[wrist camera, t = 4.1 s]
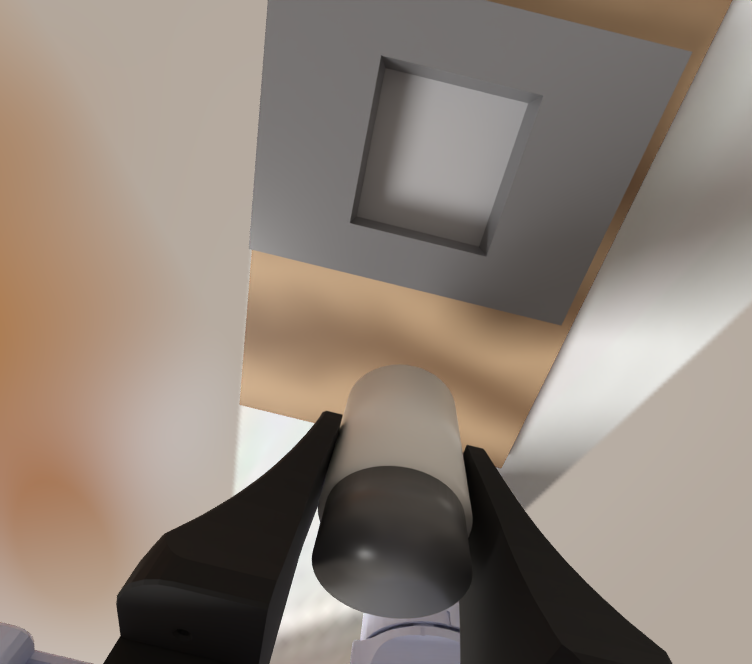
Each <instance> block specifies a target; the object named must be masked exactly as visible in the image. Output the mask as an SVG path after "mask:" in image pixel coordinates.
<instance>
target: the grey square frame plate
mask: <svg viewBox="0 0 752 664" xmlns="http://www.w3.org/2000/svg"><path fill="white" fill-rule="evenodd" d="M691 54H692V52H691V51H687V50H683V49H679V48H675V47H671V46H667V45H663V44H659V43H655V42H651V41H647V40H643V39H639V38H635V37H631V36H627V35H623V34H619V33H615V32H611V31H607V30H603V29H599V28H595V27H591V26H587V25H583V24H579V23H575V22H571V21H567V20H563V19H559V18H555V17H551V16H547V15H543V14H539V13H535V12H531V11H527V10H523V9H519V8H515V7H511V6H507V5H503V4H499V3H495V2H491V1H487V0H268V6H267V19H266V32H265V45H264V59H263V72H262V84H261V98H260V111H259V124H258V137H257V150H256V163H255V176H254V189H253V202H252V215H251V228H250V241H249V249H251V250H255V251H259V252H263V253H267V254H272V255H276V256H280V257H284V258H288V259H292V260H296V261H300V262H304V263H308V264H312V265H316V266H320V267H325V268H329V269H333V270H337V271H341V272H345V273H349V274H353V275H357V276H361V277H365V278H369V279H373V280H377V281H382V282H386V283H390V284H394V285H398V286H402V287H406V288H410V289H414V290H418V291H422V292H426V293H430V294H435V295H439V296H443V297H447V298H451V299H455V300H459V301H463V302H467V303H471V304H475V305H479V306H483V307H488V308H492V309H496V310H500V311H504V312H508V313H512V314H516V315H520V316H524V317H528V318H532V319H536V320H541V321H545V322H549V323H553V324H557V325H562V323H563V321H564V319H565V317H566V315H567V313H568V310H569V308H570V306H571V304H572V302H573V300H574V298H575V296H576V294H577V292H578V290H579V288H580V285H581V283H582V281H583V279H584V277H585V275H586V273H587V271H588V269H589V267H590V265H591V263H592V260H593V258H594V256H595V254H596V252H597V250H598V248H599V246H600V244H601V242H602V240H603V238H604V235H605V233H606V231H607V229H608V227H609V225H610V223H611V221H612V219H613V217H614V215H615V213H616V211H617V208H618V206H619V204H620V202H621V200H622V198H623V196H624V194H625V192H626V190H627V188H628V186H629V183H630V181H631V179H632V177H633V175H634V173H635V171H636V169H637V167H638V165H639V163H640V161H641V158H642V156H643V154H644V152H645V150H646V148H647V146H648V144H649V142H650V140H651V138H652V136H653V133H654V131H655V129H656V127H657V125H658V123H659V121H660V119H661V117H662V115H663V113H664V111H665V108H666V106H667V104H668V102H669V100H670V98H671V96H672V94H673V92H674V90H675V88H676V86H677V84H678V81H679V79H680V77H681V75H682V73H683V71H684V69H685V67H686V65H687V63H688V61H689V59H690V56H691Z"/></svg>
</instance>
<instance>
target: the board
mask: <svg viewBox="0 0 752 664" xmlns="http://www.w3.org/2000/svg"><path fill="white" fill-rule="evenodd" d="M487 1H491V2H495V3H499V4H503V5H507V6H511V7H515V8H519V9H523V10H527V11H531V12H535V13H539V14H543V15H547V16H551V17H555V18H559V19H563V20H567V21H571V22H575V23H579V24H583V25H587V26H591V27H595V28H599V29H603V30H607V31H611V32H615V33H619V34H623V35H627V36H631V37H635V38H639V39H643V40H647V41H651V42H655V43H659V44H663V45H667V46H671V47H675V48H679V49H683V50H687V51H691V52H692V54H691V56H690V59H689V61H688V63H687V65H686V67H685V69H684V71H683V73H682V75H681V77H680V79H679V81H678V84H677V86H676V88H675V90H674V92H673V94H672V96H671V98H670V100H669V102H668V104H667V106H666V108H665V111H664V113H663V115H662V117H661V119H660V121H659V123H658V125H657V127H656V129H655V131H654V133H653V136H652V138H651V140H650V142H649V144H648V146H647V148H646V150H645V152H644V154H643V156H642V158H641V161H640V163H639V165H638V167H637V169H636V171H635V173H634V175H633V177H632V179H631V181H630V183H629V186H628V188H627V190H626V192H625V194H624V196H623V198H622V200H621V202H620V204H619V206H618V208H617V211H616V213H615V215H614V217H613V219H612V221H611V223H610V225H609V227H608V229H607V231H606V233H605V235H604V238H603V240H602V242H601V244H600V246H599V248H598V250H597V252H596V254H595V256H594V258H593V260H592V263H591V265H590V267H589V269H588V271H587V273H586V275H585V277H584V279H583V281H582V283H581V285H580V288H579V290H578V292H577V294H576V296H575V298H574V300H573V302H572V304H571V306H570V308H569V310H568V313H567V315H566V317H565V319H564V321H563V323H562V325H557V324H553V323H549V322H545V321H541V320H536V319H532V318H528V317H524V316H520V315H516V314H512V313H508V312H504V311H500V310H496V309H492V308H488V307H483V306H479V305H475V304H471V303H467V302H463V301H459V300H455V299H451V298H447V297H443V296H439V295H435V294H430V293H426V292H422V291H418V290H414V289H410V288H406V287H402V286H398V285H394V284H390V283H386V282H382V281H377V280H373V279H369V278H365V277H361V276H357V275H353V274H349V273H345V272H341V271H337V270H333V269H329V268H325V267H320V266H316V265H312V264H308V263H304V262H300V261H296V260H292V259H288V258H284V257H280V256H276V255H272V254H267V253H263V252H259V251H255V250H252V256H251V268H250V281H249V293H248V306H247V318H246V331H245V343H244V356H243V368H242V381H241V393H240V405H243V406H247V407H251V408H255V409H259V410H263V411H267V412H271V413H276V414H280V415H284V416H288V417H292V418H296V419H300V420H304V421H308V422H313V423H316V421H317V420H318V418H319V417H320V415H321V414H322V412H324V411H330V412H334V413H338V414H342V415H343V414H344V410H345V407H346V403H347V400H348V397H349V394H350V391H351V390H352V388H353V386H354V385H355V383H356V382H357V381H358V380H359V379H360V378H361V377H363V376H364V375H365V374H367V373H369V372H370V371H372V370H375V369H377V368H380V367H383V366H389V365H409V366H415V367H418V368H421V369H424V370H426V371H428V372H430V373H432V374H434V375H435V376H436V377H438V378H439V379H440V380H441V381H442V382H443V383H444V384H445V385H446V386H447V387H448V389H449V390H450V392H451V394H452V396H453V399H454V401H455V407H456V413H457V419H458V426H459V432H460V439H461V445H462V452H463V453H464V450H465V448H466V445H471V446H475V447H479V448H483V449H484V450H485V451H486V453H487V454H488V456H489V458H490V459H491V461H492V462H493V464H494V465H495V467H498V468H502V466H503V464H504V462H505V460H506V458H507V456H508V454H509V452H510V450H511V448H512V446H513V444H514V442H515V440H516V438H517V436H518V434H519V432H520V429H521V427H522V425H523V423H524V421H525V419H526V417H527V415H528V413H529V411H530V409H531V407H532V405H533V403H534V401H535V399H536V397H537V395H538V393H539V391H540V389H541V387H542V385H543V383H544V381H545V379H546V377H547V375H548V373H549V371H550V369H551V367H552V365H553V363H554V361H555V359H556V357H557V355H558V353H559V351H560V348H561V346H562V344H563V342H564V340H565V338H566V336H567V334H568V332H569V330H570V328H571V326H572V324H573V322H574V320H575V318H576V316H577V314H578V312H579V310H580V308H581V306H582V304H583V302H584V300H585V298H586V296H587V294H588V292H589V290H590V288H591V286H592V284H593V282H594V280H595V278H596V276H597V274H598V272H599V270H600V267H601V265H602V263H603V261H604V259H605V257H606V255H607V253H608V251H609V249H610V247H611V245H612V243H613V241H614V239H615V237H616V235H617V233H618V231H619V229H620V227H621V225H622V223H623V221H624V219H625V217H626V215H627V213H628V211H629V209H630V207H631V205H632V203H633V201H634V199H635V197H636V195H637V193H638V191H639V189H640V186H641V184H642V182H643V180H644V178H645V176H646V174H647V172H648V170H649V168H650V166H651V164H652V162H653V160H654V158H655V156H656V154H657V152H658V150H659V148H660V146H661V144H662V142H663V140H664V138H665V136H666V134H667V132H668V130H669V128H670V126H671V124H672V122H673V120H674V118H675V116H676V114H677V112H678V110H679V108H680V105H681V103H682V101H683V99H684V97H685V95H686V93H687V91H688V89H689V87H690V85H691V83H692V81H693V79H694V77H695V75H696V73H697V71H698V69H699V67H700V65H701V63H702V61H703V59H704V57H705V55H706V53H707V51H708V49H709V47H710V45H711V43H712V41H713V39H714V37H715V35H716V33H717V31H718V29H719V27H720V24H721V22H722V20H723V18H724V16H725V14H726V12H727V10H728V8H729V6H730V4H731V2H732V0H487ZM342 418H343V416H342ZM341 421H342V420H341Z"/></svg>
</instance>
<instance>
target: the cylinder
mask: <svg viewBox="0 0 752 664" xmlns="http://www.w3.org/2000/svg"><path fill="white" fill-rule="evenodd" d="M318 515H319V519H320V526H319V530H318V534H317V538H316V541H315V545H314V549H313V553H312V566H313V570H314V573H315V575H316V577H317V579H318V581H319V582H320V584H321V585H322V586H323V587H324V589H325V590H326V591H327V592H328V593H330V594H331V595H332V596H333V597H334V598H336V599H337V600H339V601H340V602H342V603H344V604H345V605H347V606H349V607H351V608H353V609H356V610H358V611H361V612H364V613H367V614H371V615H375V616H379V617H386V618H396V619H410V618H420V617H425V616H430V615H433V614H436V613H439V612H441V611H444V610H446V609H448V608H450V607H451V606H453V605H454V604H456V603H457V602H458V601H459V600H460V599H461V598H462V597H463V596H464V595H465V594H466V592H467V591H468V589H469V587H470V585H471V581H472V564H471V556H470V549H469V541H468V537H469V535H470V532H471V529H472V523H473V516H472V510H471V503H470V497H469V490H468V484H467V477H466V471H465V465H464V458H463V452H462V445H461V439H460V432H459V426H458V419H457V413H456V407H455V401H454V399H453V396H452V394H451V392H450V390H449V389H448V387H447V386H446V385H445V384H444V383H443V382H442V381H441V380H440V379H439V378H438V377H436V376H435V375H434V374H432V373H430V372H428V371H426V370H424V369H421V368H418V367H415V366H409V365H389V366H383V367H380V368H377V369H375V370H372V371H370V372H369V373H367V374H365V375H364V376H363V377H361V378H360V379H359V380H358V381H357V382H356V383H355V385H354V386H353V388H352V390H351V391H350V394H349V397H348V400H347V403H346V407H345V410H344V414H343V418H342V421H341V425H340V429H339V433H338V436H337V440H336V443H335V447H334V450H333V453H332V457H331V460H330V463H329V467H328V470H327V474H326V477H325V481H324V485H323V488H322V492H321V495H320V499H319V504H318Z"/></svg>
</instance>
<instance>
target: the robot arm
mask: <svg viewBox="0 0 752 664" xmlns="http://www.w3.org/2000/svg"><path fill="white" fill-rule="evenodd" d="M342 416H343V415H342V414H338V413H334V412H330V411H324V412H322V414H321V415H320V417H319V418H318V420H317V421H316V423H315V424H314V425H313V426H312V428H311V429H310V430H309V431H308V432H307V434H306V435H305V436H304V437H303V438H302V439H301V440H300V441H299V442H298V443H297V444H296V446H295V447H294V448H293V449H292V450H291V451H289V452H288V453H287V454H286V455H285V456H284V457H283V458H282V459H281V460H280V461H279V462H278V463H277V464H276V465H274V466H273V467H272V468H271V469H270V470H268V471H267V472H266V473H265V474H264V475H262V476H261V477H260V478H258V479H257V480H256V481H255V482H253V483H252V484H250V485H249V486H248V487H246V488H245V489H243V490H242V491H241V492H239V493H238V494H236V495H235V496H233V497H232V498H230V499H228V500H227V501H225V502H223V503H222V504H220V505H219V506H217V507H215V508H213V509H212V510H210V511H208V512H207V513H205V514H203V515H201V516H199V517H197V518H195V519H193V520H191V521H189V522H187V523H185V524H183V525H181V526H179V527H177V528H175V529H173V530H171V531H169V532H167V533H165V534H164V535H163V536H162V537H161V538H160V539H159V540H158V541H157V542H156V544H155V545H154V546H153V547H152V548H151V549H150V550H149V552H148V553H147V554H146V555H145V556H144V557H143V559H142V560H141V561H140V562H139V564H138V565H137V567H136V568H135V569H134V571H133V572H132V574H131V576H130V577H129V579H128V580H127V582H126V583H125V585H124V586H123V588H122V589H121V591H120V592H119V594H118V595H117V603H116V605H117V612H118V619H119V627H120V635H121V636H120V638H119V639H118V641H117V642H116V644H115V646H114V647H113V649H112V651H111V652H110V654H109V655H108V657H107V659H106V660H105V662H104V663H103V664H269V663H270V659H271V655H272V652H273V648H274V645H275V641H276V637H277V634H278V630H279V627H280V623H281V619H282V616H283V612H284V609H285V605H286V602H287V598H288V594H289V591H290V587H291V584H292V580H293V577H294V573H295V570H296V566H297V563H298V559H299V556H300V553H301V550H302V547H303V544H304V541H305V539H306V536H307V533H308V531H309V528H310V525H311V523H312V520H313V517H314V515H315V512H316V509H317V507H318V504H319V499H320V495H321V492H322V488H323V485H324V481H325V477H326V474H327V470H328V467H329V463H330V460H331V457H332V453H333V450H334V447H335V443H336V440H337V436H338V433H339V429H340V425H341V420H342ZM463 458H464V465H465V471H466V477H467V484H468V490H469V497H470V503H471V510H472V516H473V523H472V529H471V532H470V535H469V537H468V541H469V549H470V556H471V564H472V581H471V585H470V587H469V589H468V591H467V592H466V594H465V595H464V596H463V597H462V598H461V599H460V600H459V601H458V602H457V603H456V604H454V605H453V606H451V607H450V608H448V609H446V610H444V611H441V612H439V613H436V614H433V615H430V616H425V617H420V618H410V619H396V618H386V617H379V616H375V615H371V614H367V613H363V622H362V631H361V639H360V640H354V641H353V644H352V652H351V659H350V664H672V662H671V660H670V658H669V657H668V655H667V653H666V652H665V651H664V650H663V649H662V648H660V647H659V646H658V645H657V644H655V643H654V642H653V641H652V640H651V639H649V638H648V637H647V636H646V635H644V634H643V633H642V632H641V631H640V630H638V629H637V628H636V627H635V626H633V625H632V624H631V623H630V622H629V621H627V620H626V619H625V618H624V617H623V616H622V615H621V614H620V613H618V612H617V611H616V610H615V609H614V608H613V607H612V606H611V605H610V604H609V603H608V602H606V601H605V600H604V599H603V598H602V597H601V596H600V595H599V594H598V593H597V592H596V591H595V590H593V588H592V587H591V586H589V584H587V583H586V582H585V580H584V579H583V578H582V577H581V576H580V575H579V574H578V573H577V572H576V571H575V570H574V569H573V568H572V567H571V566H570V565H569V564H568V563H567V562H566V561H565V560H564V558H563V557H562V556H561V555H560V554H559V553H558V552H557V551H556V549H555V548H554V547H553V546H552V545H551V544H550V542H549V541H548V540H547V539H546V538H545V537H544V535H543V534H542V533H541V531H540V530H539V529H538V528H537V526H536V525H535V524H534V522H533V521H532V520H531V518H530V517H529V516H528V514H527V513H526V512H525V510H524V509H523V508H522V506H521V505H520V503H519V502H518V501H517V499H516V498H515V496H514V495H513V493H512V492H511V490H510V489H509V487H508V486H507V484H506V483H505V481H504V480H503V478H502V477H501V475H500V473H499V472H498V470H497V469H496V467H495V465H494V464H493V462H492V461H491V459H490V458H489V456H488V454H487V453H486V451H485V450H484V449H483V448H479V447H475V446H471V445H466V448H465V450H464V453H463ZM0 664H92V663H88V662H84V661H79V660H75V659H71V658H66V657H63V656H58V655H54V654H50V653H45V652H42V651H37V650H34V640H33V637H32V636H31V634H30V633H29V632H28V631H26V630H25V629H23V628H20V627H17V626H14V625H10V624H6V623H1V622H0Z"/></svg>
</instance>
